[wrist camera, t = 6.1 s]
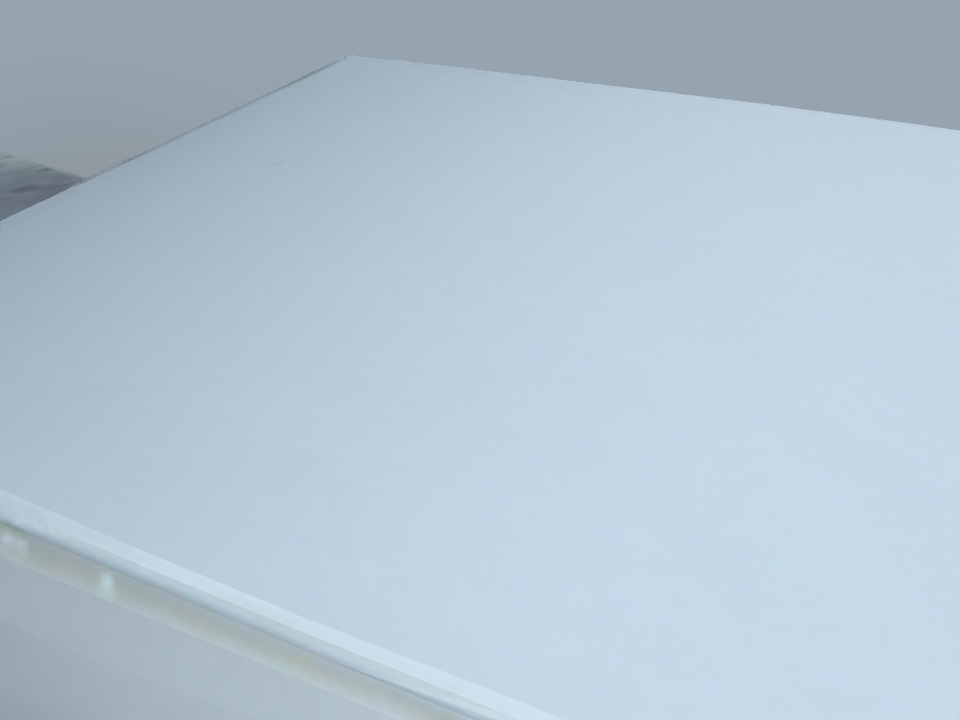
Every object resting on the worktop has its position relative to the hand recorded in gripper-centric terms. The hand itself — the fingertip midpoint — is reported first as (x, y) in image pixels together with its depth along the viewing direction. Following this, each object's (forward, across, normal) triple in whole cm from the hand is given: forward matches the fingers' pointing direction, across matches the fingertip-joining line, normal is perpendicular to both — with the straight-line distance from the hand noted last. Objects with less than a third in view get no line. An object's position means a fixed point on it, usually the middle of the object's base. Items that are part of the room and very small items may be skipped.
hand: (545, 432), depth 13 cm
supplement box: (-4, 0, -8) cm, 9 cm away
